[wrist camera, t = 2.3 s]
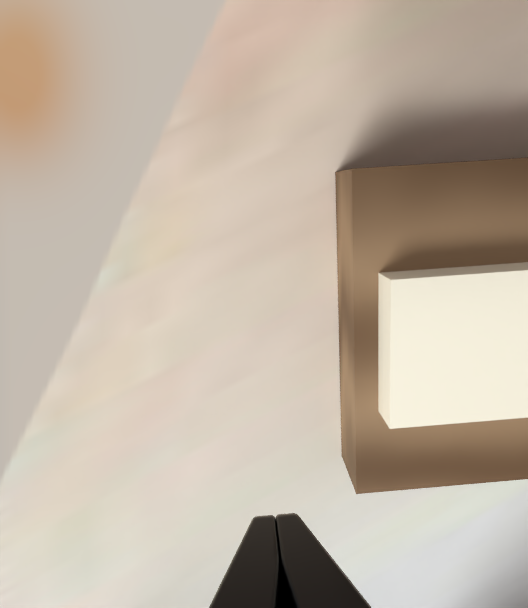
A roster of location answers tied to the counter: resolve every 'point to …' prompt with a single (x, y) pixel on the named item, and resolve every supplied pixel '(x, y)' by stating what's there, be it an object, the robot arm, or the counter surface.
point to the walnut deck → (418, 256)
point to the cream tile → (453, 345)
